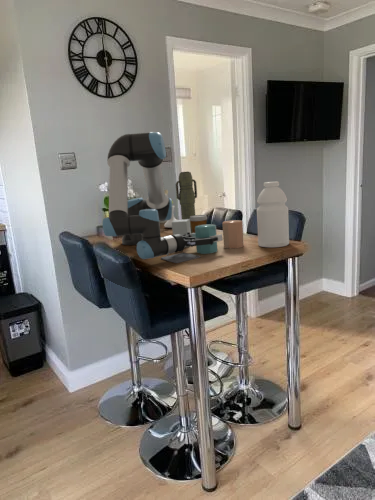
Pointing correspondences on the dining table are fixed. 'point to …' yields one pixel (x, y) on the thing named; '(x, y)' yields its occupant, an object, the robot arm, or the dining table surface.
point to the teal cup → (204, 232)
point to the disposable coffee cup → (197, 221)
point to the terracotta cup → (233, 234)
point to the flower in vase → (169, 222)
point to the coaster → (180, 257)
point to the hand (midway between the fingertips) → (212, 235)
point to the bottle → (272, 217)
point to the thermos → (186, 195)
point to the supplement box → (181, 227)
